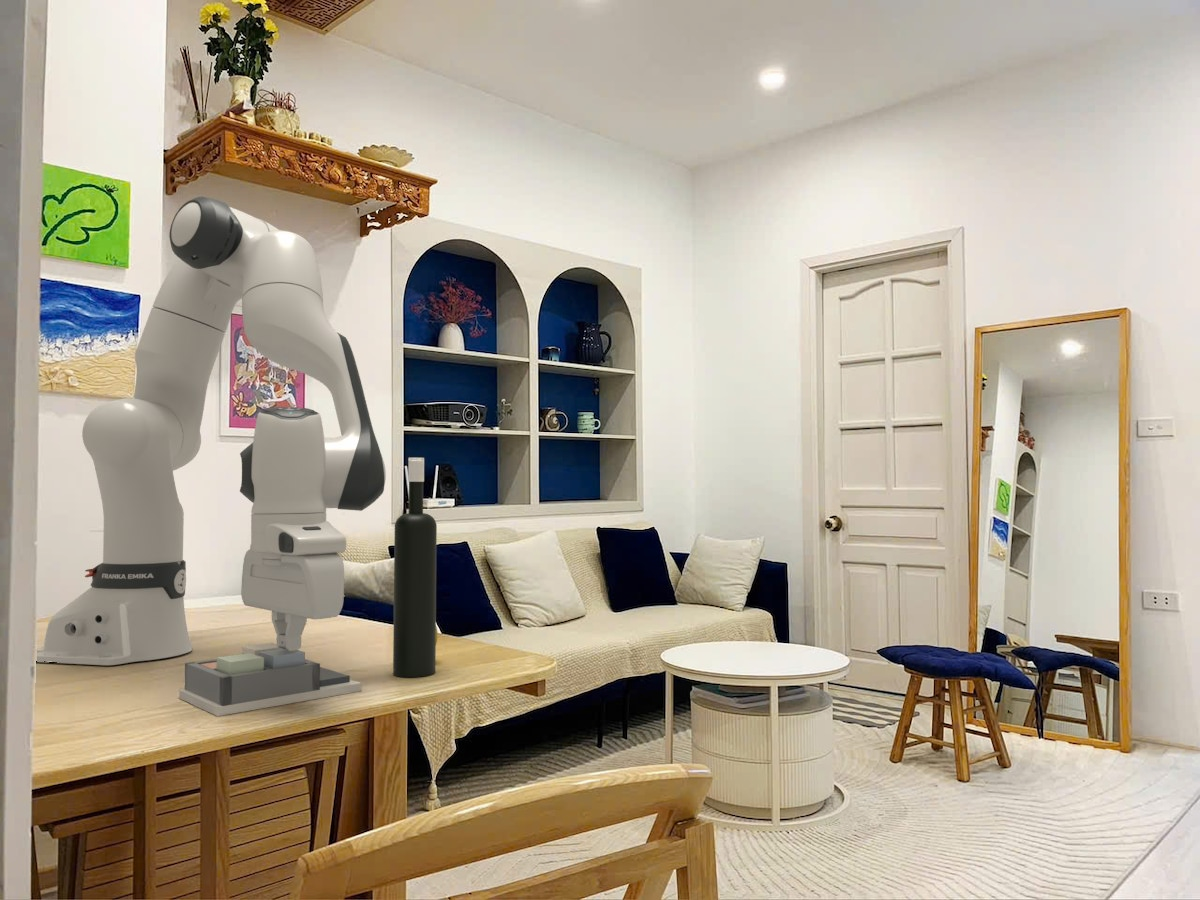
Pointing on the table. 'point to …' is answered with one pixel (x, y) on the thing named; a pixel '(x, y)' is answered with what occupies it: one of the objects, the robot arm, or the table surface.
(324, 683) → the keypad
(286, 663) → the key slate
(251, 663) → the key sage
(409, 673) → the wine bottle
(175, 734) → the table surface
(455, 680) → the table surface
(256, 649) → the key ivory
